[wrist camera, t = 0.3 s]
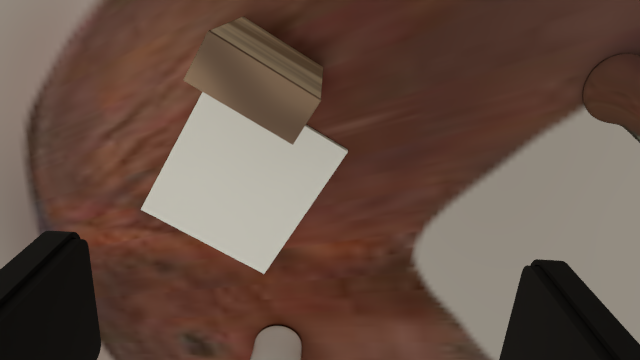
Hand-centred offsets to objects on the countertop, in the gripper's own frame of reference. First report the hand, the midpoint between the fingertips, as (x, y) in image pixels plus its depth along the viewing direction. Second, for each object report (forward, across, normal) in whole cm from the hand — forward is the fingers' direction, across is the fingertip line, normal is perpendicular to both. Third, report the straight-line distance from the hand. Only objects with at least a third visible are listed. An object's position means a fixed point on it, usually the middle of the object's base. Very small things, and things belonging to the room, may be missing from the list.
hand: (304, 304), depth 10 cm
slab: (+34, +4, 0) cm, 34 cm away
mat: (+34, +7, +11) cm, 37 cm away
